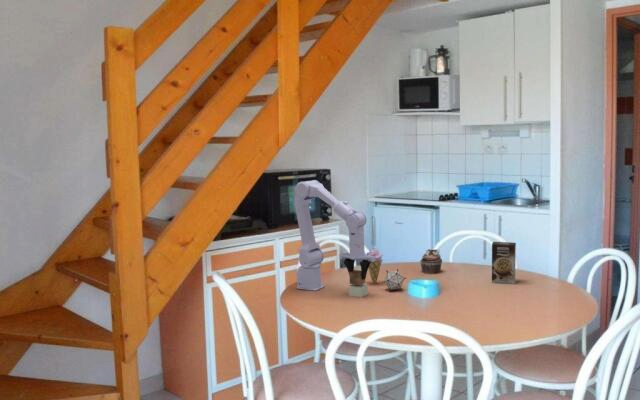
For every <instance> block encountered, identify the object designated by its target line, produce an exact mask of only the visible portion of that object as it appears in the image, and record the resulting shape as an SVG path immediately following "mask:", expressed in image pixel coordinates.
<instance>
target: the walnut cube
mask: <svg viewBox="0 0 640 400" xmlns="http://www.w3.org/2000/svg"><path fill="white" fill-rule="evenodd" d="M349 274H350V276H349V284H350V285H352V284H355V285H361V284H366V279H364V280H362V272H361V270H359V269H354V271H352V272H348V275H349Z"/></svg>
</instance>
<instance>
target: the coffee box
mask: <svg viewBox="0 0 640 400" xmlns="http://www.w3.org/2000/svg"><path fill="white" fill-rule="evenodd" d="M516 244H517V243H516V242H510V241H509V242H506V241H493V242H492V243H491V283H492V284H493V283H494V284H509V285H515V283H516V257H517V255H516V253H517V252H516V249H517V248H516V247H517V245H516Z"/></svg>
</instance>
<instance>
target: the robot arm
mask: <svg viewBox="0 0 640 400" xmlns="http://www.w3.org/2000/svg"><path fill="white" fill-rule="evenodd" d="M293 189H294V203H293V204H294V208H295V209H294V210H295V213H296V219H297V224H298V228H299V234H300V239H301V244H302V245H301V246H300V248H299V249H298V252H299V256H298V262H299V265H300V266H298V268H297V271H296V281H297V282H296V284H297V286H296V289H298V290H299V289H300V290H307V291H313V292H314V291H318V290H320V289H323V288H325V287H326V284H322V271H321V269H322V268H321V266H322V263H323V262H324V259H325V256H324V253H323V251H322V249H321V245H320V244H319V243H317V241H316V238H315V237H316V236H315V232H314V227H313V221H312V216H311V212H310V206H309V204H310V203H311V201H312V200H313V199H314V198H319V199H320V200H322V201H323V202H325V203H326V204H327V205H329V206H330V207H331V208H333V213H334V214H336V215H337V216H338V217H339V218H341V219H342V220H343V221H344V222H345V225H346V227H347V228H348V229H347V230H348V239H349V240H348V241H349V242H348V243H349V244H348V245H349V253H340V254H339V260H343V265H344V266H345V267H346V269H347V273H348V275H349V277H350V274H349V272H352V271H354V270H355V263H356V262H355V261H360V262H359V266H360V271H361V272H362V280H364V279H365V280H366V278H367V273H368V271H369V265H370V263H371V262H374V261H375V256H371V255H367V253H366V254H365V226H366V223H367V217H366V215H365V214H364V212H362V211H357V209H356V208H353V207H352V206H351V205H350V204H348V203H349V202H348V201H346V200H338V199H337V198H336V197H335V196H334V195H333V194H332V193H331V192H329V190H327V189H326V188H325V187H324V185H323V183H320V182H319V181H318V180H316V179H313V180H306V181H299V182H297V184H296V185H295V187H294V188H293Z"/></svg>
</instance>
